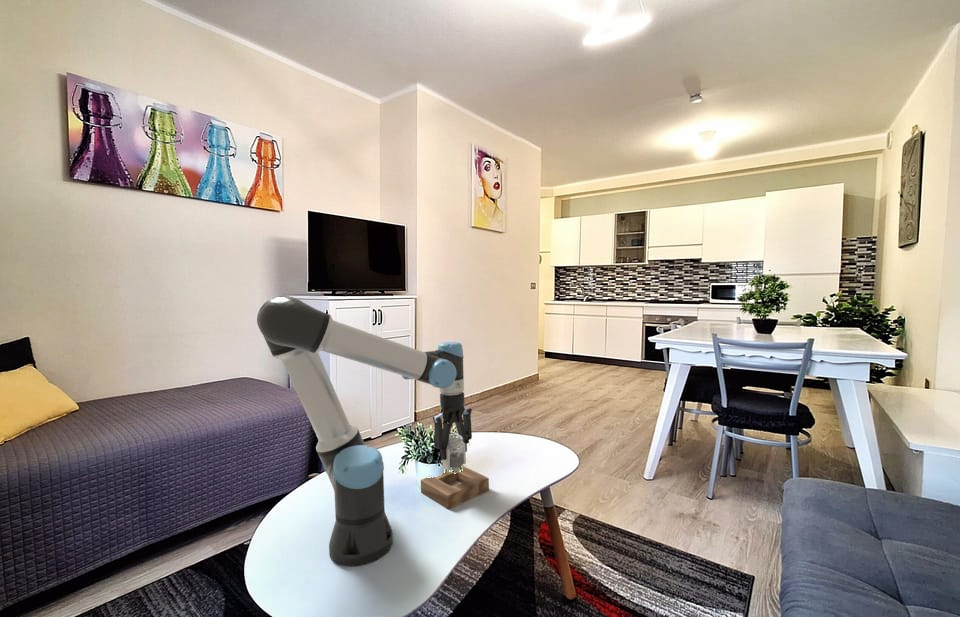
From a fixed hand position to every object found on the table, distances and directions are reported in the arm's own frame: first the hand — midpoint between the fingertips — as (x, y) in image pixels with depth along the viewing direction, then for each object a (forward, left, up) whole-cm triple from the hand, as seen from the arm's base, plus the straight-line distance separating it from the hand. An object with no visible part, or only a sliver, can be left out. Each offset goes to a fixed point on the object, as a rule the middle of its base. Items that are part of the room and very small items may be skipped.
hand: (454, 465), depth 130 cm
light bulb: (0, 0, -2) cm, 2 cm away
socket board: (0, 0, -8) cm, 8 cm away
